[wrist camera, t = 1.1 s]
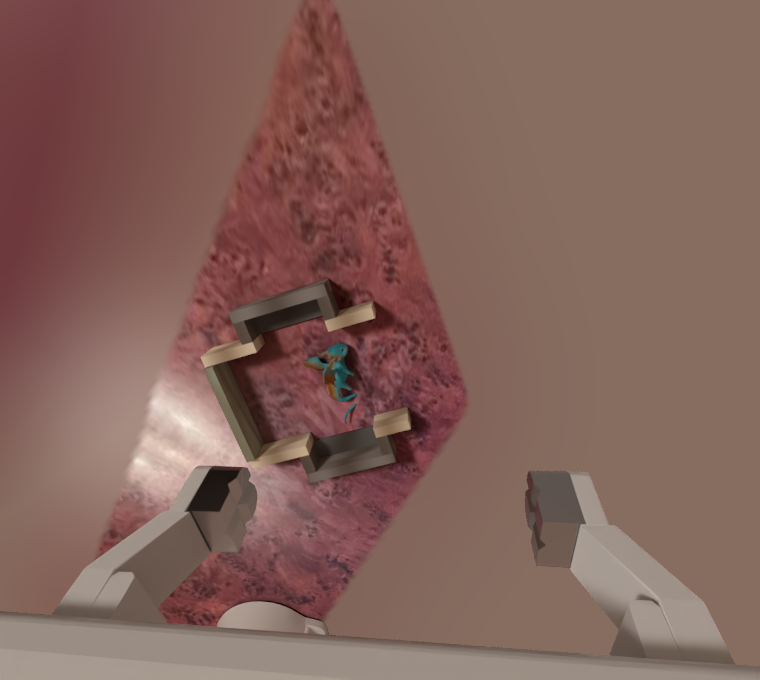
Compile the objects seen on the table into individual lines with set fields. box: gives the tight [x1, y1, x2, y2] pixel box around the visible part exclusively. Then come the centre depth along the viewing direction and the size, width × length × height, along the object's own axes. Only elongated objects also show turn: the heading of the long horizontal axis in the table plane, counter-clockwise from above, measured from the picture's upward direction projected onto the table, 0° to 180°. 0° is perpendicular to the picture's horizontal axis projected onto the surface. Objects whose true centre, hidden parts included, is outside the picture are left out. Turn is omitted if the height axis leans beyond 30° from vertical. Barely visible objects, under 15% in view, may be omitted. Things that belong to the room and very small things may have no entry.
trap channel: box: [201, 279, 411, 483], centre depth 47 cm, size 19×22×4 cm
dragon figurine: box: [302, 343, 357, 424], centre depth 48 cm, size 6×7×8 cm
